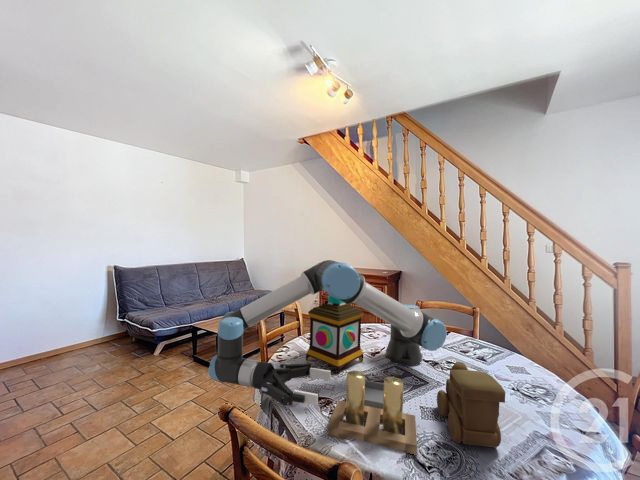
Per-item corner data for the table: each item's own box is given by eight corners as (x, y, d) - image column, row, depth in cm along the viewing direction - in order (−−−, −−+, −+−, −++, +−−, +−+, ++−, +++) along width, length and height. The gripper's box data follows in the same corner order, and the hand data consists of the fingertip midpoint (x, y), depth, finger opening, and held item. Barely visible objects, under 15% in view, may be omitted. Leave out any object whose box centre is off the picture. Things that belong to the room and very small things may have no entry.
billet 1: (355, 417, 81) (356, 369, 81) (367, 427, 77) (369, 376, 76) (341, 423, 78) (343, 373, 78) (353, 434, 74) (355, 381, 74)
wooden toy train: (507, 461, 66) (510, 391, 66) (456, 455, 68) (459, 386, 68) (472, 409, 86) (474, 356, 86) (433, 406, 88) (435, 353, 87)
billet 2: (391, 425, 78) (393, 375, 78) (405, 436, 74) (407, 383, 73) (378, 431, 75) (379, 379, 75) (392, 443, 71) (394, 388, 71)
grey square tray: (361, 386, 98) (361, 379, 98) (397, 393, 94) (397, 385, 94) (356, 406, 86) (356, 398, 86) (396, 414, 83) (396, 405, 83)
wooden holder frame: (327, 435, 73) (328, 425, 73) (338, 408, 85) (338, 400, 85) (416, 456, 67) (417, 445, 67) (414, 424, 79) (415, 415, 78)
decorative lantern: (331, 348, 131) (333, 284, 131) (367, 361, 118) (370, 290, 117) (300, 361, 116) (302, 289, 116) (338, 378, 103) (341, 297, 102)
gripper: (274, 368, 98) (334, 379, 92) (233, 410, 74) (310, 428, 68) (275, 347, 98) (334, 356, 92) (234, 382, 74) (311, 397, 68)
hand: (324, 386), depth 80 cm, fingers open, 13 cm apart
